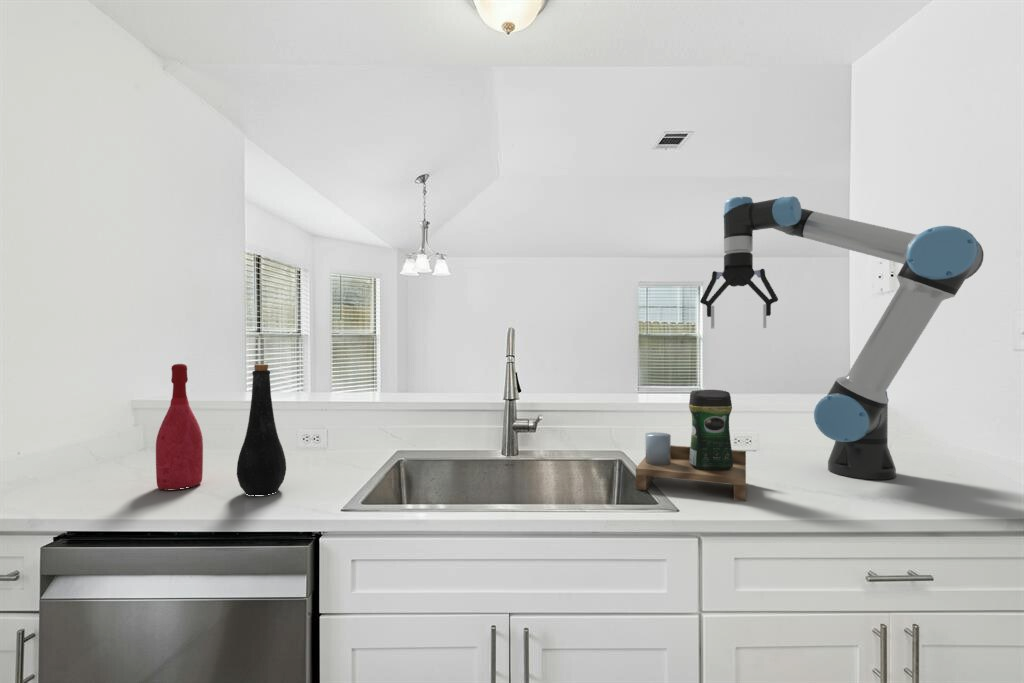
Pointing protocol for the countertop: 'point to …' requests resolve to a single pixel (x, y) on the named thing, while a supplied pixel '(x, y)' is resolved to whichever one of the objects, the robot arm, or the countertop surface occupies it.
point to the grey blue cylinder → (658, 448)
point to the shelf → (695, 471)
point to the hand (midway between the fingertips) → (738, 328)
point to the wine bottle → (179, 440)
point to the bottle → (261, 442)
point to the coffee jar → (710, 430)
